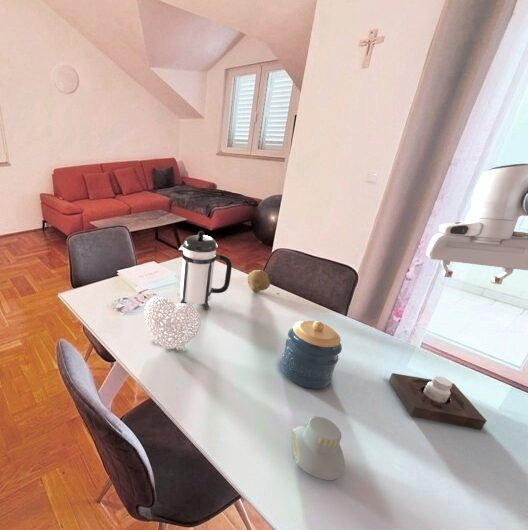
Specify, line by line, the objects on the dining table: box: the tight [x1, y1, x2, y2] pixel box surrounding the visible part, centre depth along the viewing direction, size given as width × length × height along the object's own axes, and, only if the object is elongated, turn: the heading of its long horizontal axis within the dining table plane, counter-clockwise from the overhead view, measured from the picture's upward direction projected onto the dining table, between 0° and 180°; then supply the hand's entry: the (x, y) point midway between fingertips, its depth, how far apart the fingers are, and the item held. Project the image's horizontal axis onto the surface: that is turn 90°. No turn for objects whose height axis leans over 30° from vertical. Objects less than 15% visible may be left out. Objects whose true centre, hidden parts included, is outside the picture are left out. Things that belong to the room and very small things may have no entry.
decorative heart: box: [143, 296, 201, 352], centre depth 98 cm, size 18×11×17 cm, turn 60°
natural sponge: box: [247, 269, 271, 293], centre depth 133 cm, size 9×9×10 cm
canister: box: [280, 320, 343, 390], centre depth 87 cm, size 13×13×18 cm
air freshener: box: [290, 416, 346, 481], centre depth 65 cm, size 11×8×10 cm
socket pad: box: [388, 372, 488, 430], centre depth 80 cm, size 14×12×3 cm
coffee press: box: [178, 230, 233, 310], centre depth 122 cm, size 17×16×30 cm
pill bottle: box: [423, 375, 453, 404], centre depth 79 cm, size 4×4×8 cm
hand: (470, 280), depth 85 cm, fingers open, 8 cm apart
